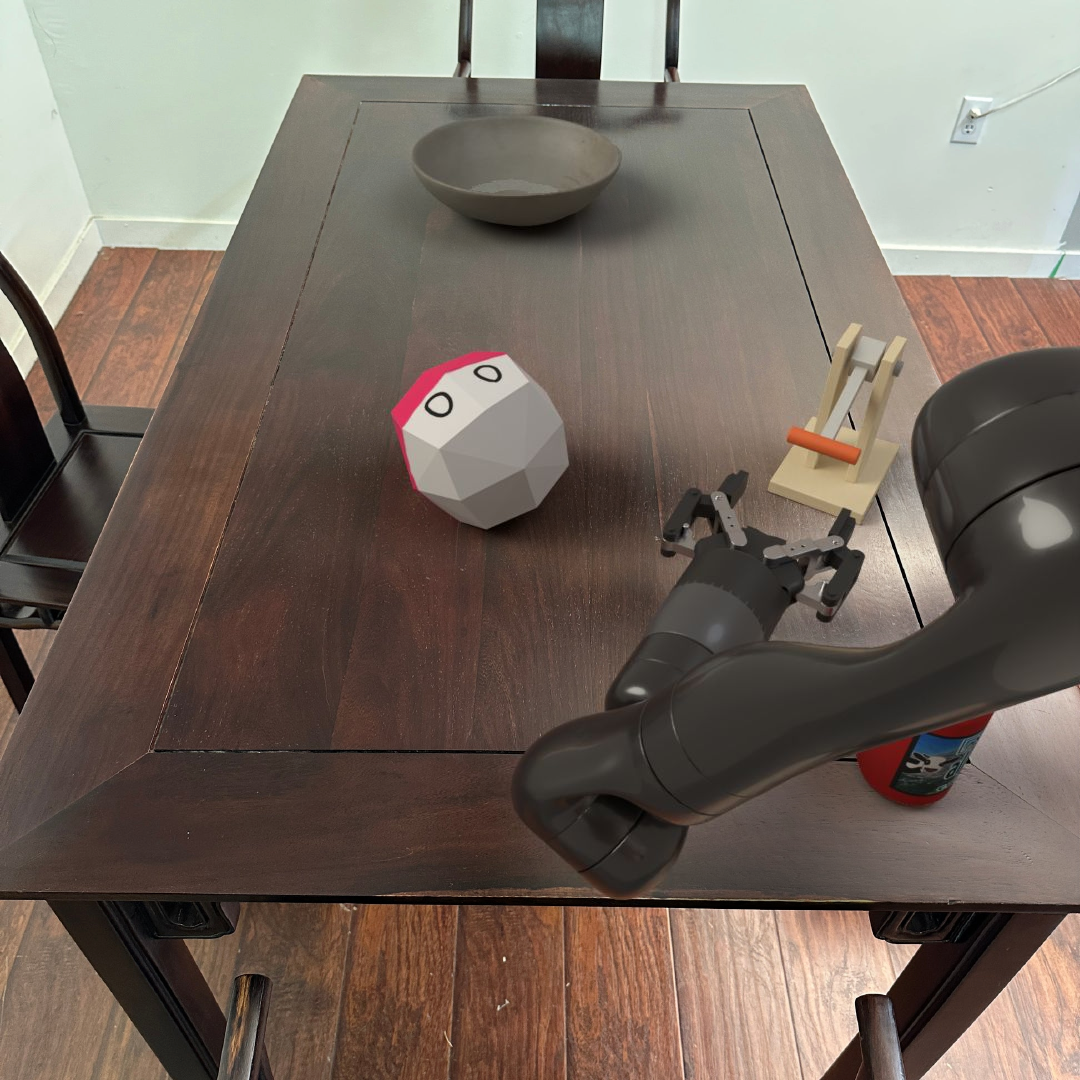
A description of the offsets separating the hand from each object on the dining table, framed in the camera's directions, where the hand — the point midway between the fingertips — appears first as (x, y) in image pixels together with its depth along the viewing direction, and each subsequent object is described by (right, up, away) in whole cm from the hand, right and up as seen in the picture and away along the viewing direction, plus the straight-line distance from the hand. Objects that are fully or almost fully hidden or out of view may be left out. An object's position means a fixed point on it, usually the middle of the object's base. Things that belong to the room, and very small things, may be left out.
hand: (793, 497), depth 77 cm
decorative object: (-26, 0, +13) cm, 29 cm away
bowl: (-23, +42, +57) cm, 75 cm away
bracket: (+8, +3, +17) cm, 19 cm away
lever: (+6, +8, +7) cm, 13 cm away
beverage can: (+6, -20, -7) cm, 22 cm away
